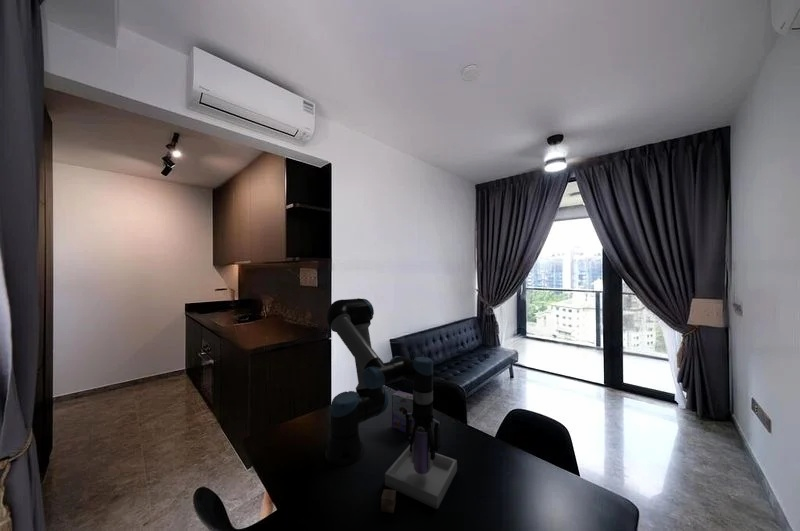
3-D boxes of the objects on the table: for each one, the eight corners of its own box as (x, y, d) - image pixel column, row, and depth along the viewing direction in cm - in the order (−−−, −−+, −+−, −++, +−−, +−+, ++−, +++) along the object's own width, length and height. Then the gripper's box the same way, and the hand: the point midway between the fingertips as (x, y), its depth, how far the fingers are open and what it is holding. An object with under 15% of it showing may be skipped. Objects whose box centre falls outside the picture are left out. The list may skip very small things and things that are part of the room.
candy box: (421, 431, 131) (422, 396, 131) (415, 437, 126) (416, 400, 126) (397, 422, 138) (398, 389, 139) (391, 427, 133) (391, 393, 134)
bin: (384, 485, 96) (384, 473, 97) (410, 453, 114) (410, 443, 114) (437, 509, 87) (437, 496, 87) (456, 471, 104) (456, 460, 104)
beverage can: (425, 478, 96) (425, 434, 97) (410, 471, 99) (411, 429, 100) (432, 468, 101) (433, 427, 102) (418, 462, 104) (419, 422, 105)
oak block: (381, 511, 86) (381, 498, 86) (383, 501, 90) (384, 488, 90) (393, 513, 85) (393, 500, 85) (395, 503, 89) (395, 490, 89)
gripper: (395, 398, 103) (395, 461, 102) (443, 411, 93) (442, 480, 93) (405, 391, 109) (404, 450, 108) (450, 402, 100) (450, 467, 99)
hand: (422, 464), depth 101 cm, fingers closed on beverage can, 6 cm apart
